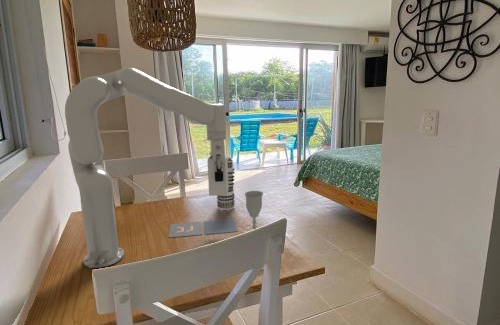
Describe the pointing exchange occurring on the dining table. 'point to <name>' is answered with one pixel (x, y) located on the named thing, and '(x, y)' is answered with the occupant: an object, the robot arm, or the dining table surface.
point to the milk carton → (214, 187)
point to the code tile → (185, 229)
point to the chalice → (254, 204)
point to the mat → (219, 226)
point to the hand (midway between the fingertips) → (218, 178)
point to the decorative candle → (228, 200)
